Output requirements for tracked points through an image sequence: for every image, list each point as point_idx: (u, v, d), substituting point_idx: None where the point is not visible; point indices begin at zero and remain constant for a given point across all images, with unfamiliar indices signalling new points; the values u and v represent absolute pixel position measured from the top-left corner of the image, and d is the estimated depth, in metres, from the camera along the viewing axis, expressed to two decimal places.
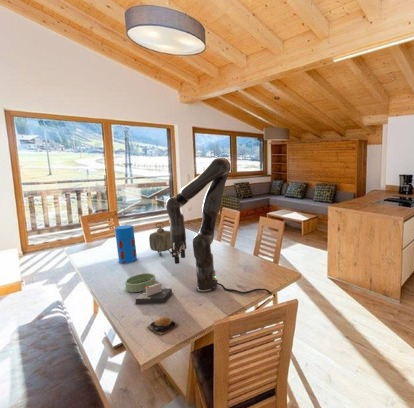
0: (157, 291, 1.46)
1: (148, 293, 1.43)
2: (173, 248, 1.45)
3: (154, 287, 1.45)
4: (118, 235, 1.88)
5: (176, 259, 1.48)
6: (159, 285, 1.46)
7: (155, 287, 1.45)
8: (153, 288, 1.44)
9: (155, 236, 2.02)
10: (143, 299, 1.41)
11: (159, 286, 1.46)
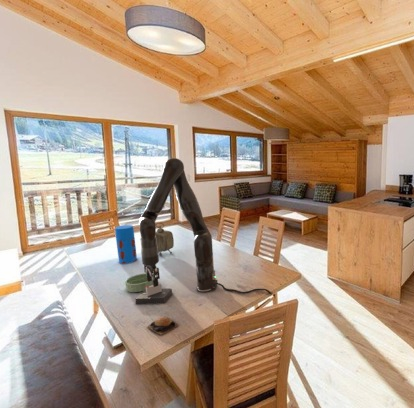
0: (157, 291, 1.46)
1: (148, 293, 1.43)
2: (155, 270, 1.38)
3: (154, 287, 1.45)
4: (118, 235, 1.88)
5: (156, 281, 1.41)
6: (159, 285, 1.46)
7: (155, 287, 1.45)
8: (153, 288, 1.44)
9: None
10: (143, 299, 1.41)
11: (159, 286, 1.46)
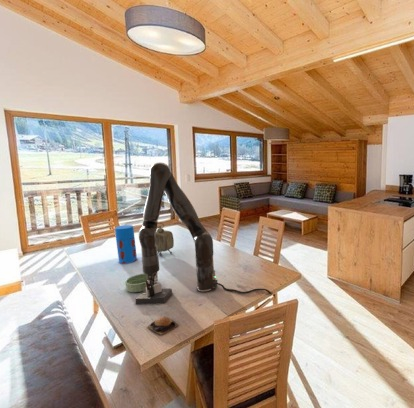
0: (157, 291, 1.46)
1: (148, 293, 1.43)
2: (148, 282, 1.38)
3: (154, 287, 1.45)
4: (118, 235, 1.88)
5: (151, 291, 1.42)
6: (159, 285, 1.46)
7: (155, 287, 1.45)
8: None
9: (155, 236, 2.02)
10: (143, 299, 1.41)
11: (159, 286, 1.46)
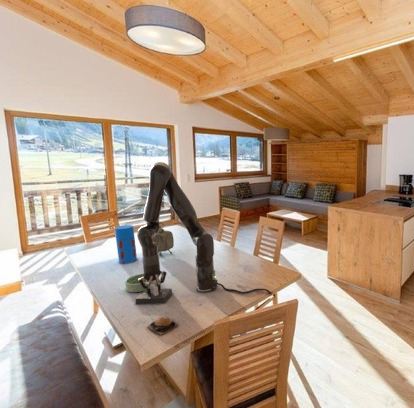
0: (153, 293, 1.44)
1: None
2: None
3: (152, 287, 1.44)
4: (118, 235, 1.88)
5: (147, 290, 1.43)
6: (153, 288, 1.43)
7: (152, 288, 1.44)
8: (151, 288, 1.45)
9: (155, 236, 2.02)
10: (143, 299, 1.41)
11: (154, 289, 1.43)
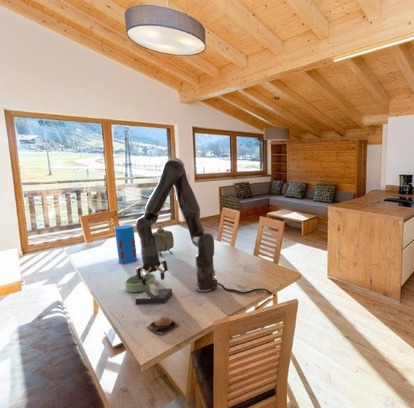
0: (153, 293, 1.44)
1: (150, 289, 1.47)
2: (136, 269, 1.39)
3: (152, 287, 1.44)
4: (118, 235, 1.88)
5: (142, 281, 1.41)
6: (153, 288, 1.43)
7: (152, 288, 1.44)
8: (151, 288, 1.45)
9: None
10: (143, 299, 1.41)
11: (154, 289, 1.43)
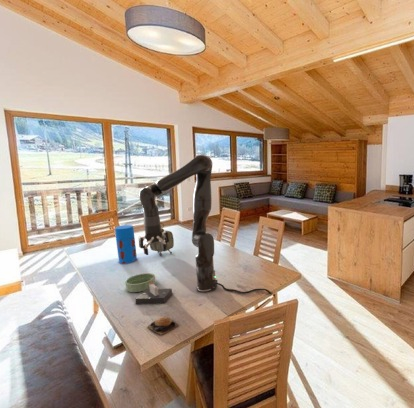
0: (153, 293, 1.44)
1: (150, 289, 1.47)
2: (139, 238, 1.43)
3: (152, 287, 1.44)
4: (118, 235, 1.88)
5: (144, 250, 1.45)
6: (153, 288, 1.43)
7: (152, 288, 1.44)
8: (151, 288, 1.45)
9: None
10: (143, 299, 1.41)
11: (154, 289, 1.43)
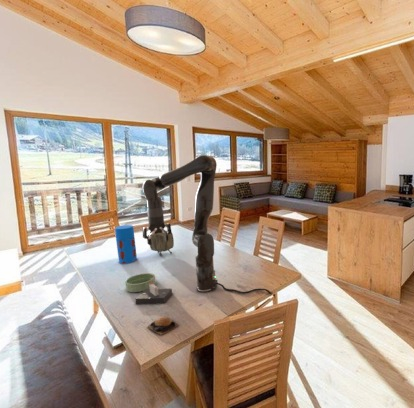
0: (153, 293, 1.44)
1: (150, 289, 1.47)
2: (143, 229, 1.48)
3: (152, 287, 1.44)
4: (118, 235, 1.88)
5: (147, 240, 1.50)
6: (153, 288, 1.43)
7: (152, 288, 1.44)
8: (151, 288, 1.45)
9: (155, 236, 2.02)
10: (143, 299, 1.41)
11: (154, 289, 1.43)
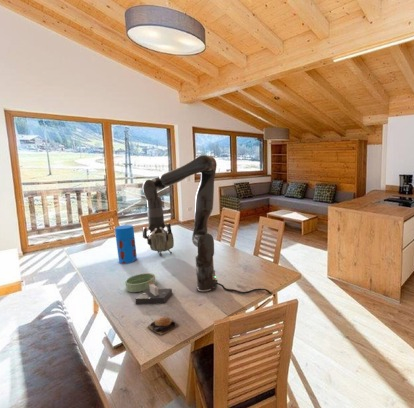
0: (153, 293, 1.44)
1: (150, 289, 1.47)
2: (143, 229, 1.48)
3: (152, 287, 1.44)
4: (118, 235, 1.88)
5: (148, 240, 1.50)
6: (153, 288, 1.43)
7: (152, 288, 1.44)
8: (151, 288, 1.45)
9: (155, 236, 2.02)
10: (143, 299, 1.41)
11: (154, 289, 1.43)
